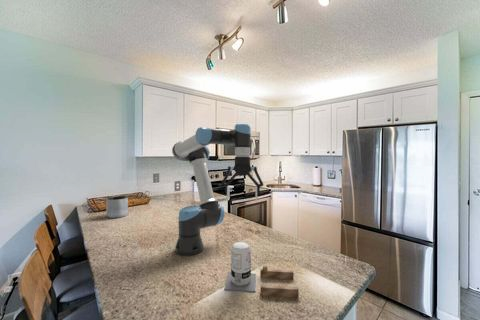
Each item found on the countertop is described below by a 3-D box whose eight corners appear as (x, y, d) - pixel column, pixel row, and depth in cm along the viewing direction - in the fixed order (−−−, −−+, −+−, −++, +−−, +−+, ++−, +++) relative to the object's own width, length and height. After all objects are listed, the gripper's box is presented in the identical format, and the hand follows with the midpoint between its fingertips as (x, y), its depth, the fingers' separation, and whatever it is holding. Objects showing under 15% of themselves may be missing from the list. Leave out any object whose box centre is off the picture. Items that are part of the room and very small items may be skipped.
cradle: (260, 295, 79) (260, 283, 79) (260, 275, 93) (260, 265, 92) (298, 297, 78) (298, 285, 78) (292, 277, 91) (292, 266, 91)
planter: (112, 219, 169) (112, 200, 169) (102, 216, 178) (102, 198, 178) (131, 215, 183) (131, 197, 182) (121, 212, 191) (121, 195, 191)
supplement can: (230, 275, 91) (230, 241, 91) (249, 274, 92) (249, 240, 92) (231, 287, 83) (231, 249, 83) (252, 286, 84) (252, 249, 84)
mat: (224, 290, 82) (224, 289, 82) (228, 273, 94) (228, 272, 94) (255, 292, 81) (255, 291, 81) (255, 274, 93) (255, 273, 93)
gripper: (215, 156, 99) (215, 201, 99) (269, 156, 97) (268, 202, 97) (218, 156, 106) (218, 198, 107) (268, 156, 104) (267, 199, 105)
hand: (242, 200), depth 102 cm, fingers open, 13 cm apart
